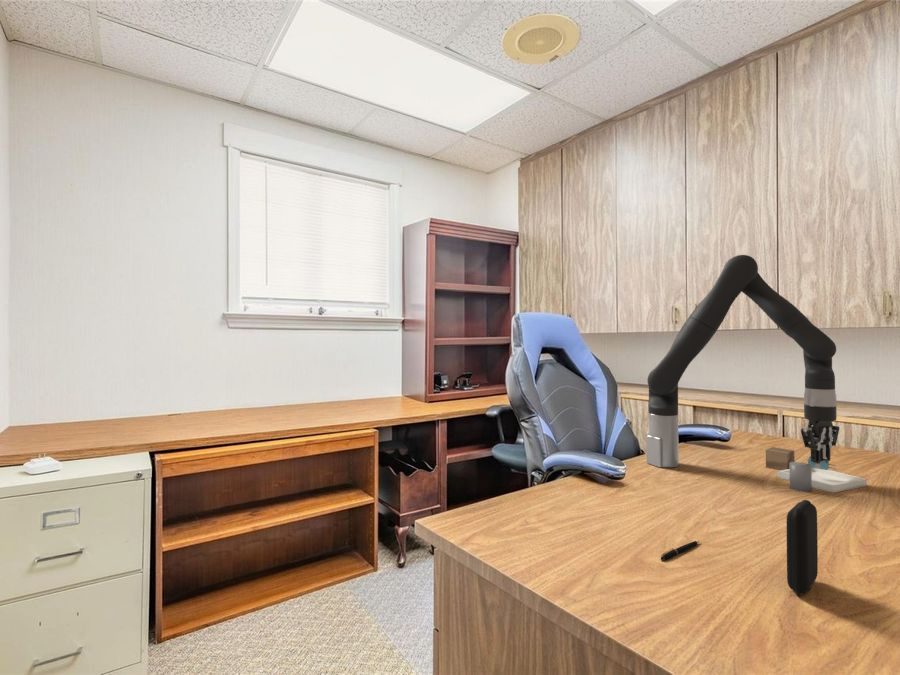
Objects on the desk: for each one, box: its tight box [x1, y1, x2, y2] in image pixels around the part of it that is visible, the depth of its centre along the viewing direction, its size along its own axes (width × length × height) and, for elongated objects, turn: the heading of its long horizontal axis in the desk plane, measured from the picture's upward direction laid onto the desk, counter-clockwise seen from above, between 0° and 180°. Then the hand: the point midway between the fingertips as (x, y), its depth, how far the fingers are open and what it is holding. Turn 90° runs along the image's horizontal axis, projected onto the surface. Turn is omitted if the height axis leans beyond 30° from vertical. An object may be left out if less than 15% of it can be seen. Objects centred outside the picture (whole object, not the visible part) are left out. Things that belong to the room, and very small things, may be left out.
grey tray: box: [777, 468, 868, 494], centre depth 137 cm, size 15×15×2 cm
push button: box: [807, 436, 836, 470], centre depth 137 cm, size 7×5×10 cm
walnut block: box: [765, 446, 796, 471], centre depth 152 cm, size 6×6×6 cm
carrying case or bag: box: [786, 499, 819, 596], centre depth 82 cm, size 11×3×15 cm, turn 131°
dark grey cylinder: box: [789, 461, 813, 493], centre depth 131 cm, size 5×5×7 cm
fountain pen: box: [660, 540, 700, 561], centre depth 95 cm, size 14×1×2 cm, turn 123°
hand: (820, 461), depth 137 cm, fingers closed on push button, 4 cm apart
